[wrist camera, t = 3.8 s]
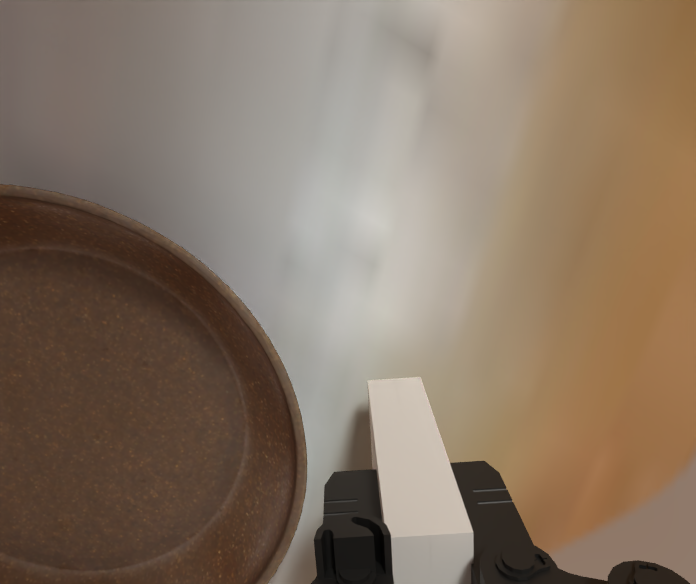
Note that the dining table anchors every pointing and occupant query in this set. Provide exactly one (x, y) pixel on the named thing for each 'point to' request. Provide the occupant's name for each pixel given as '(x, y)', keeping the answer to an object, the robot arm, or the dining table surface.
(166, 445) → the saucer
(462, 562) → the robot arm
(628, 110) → the dining table surface
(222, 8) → the dining table surface
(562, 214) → the dining table surface
